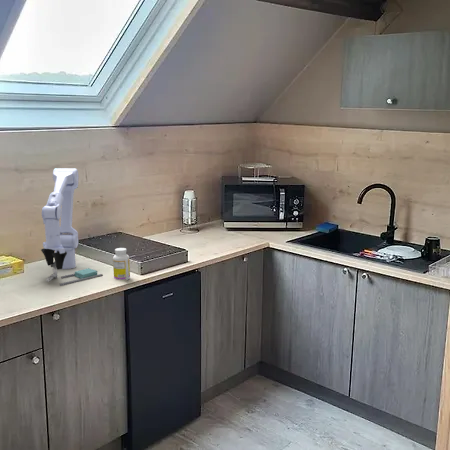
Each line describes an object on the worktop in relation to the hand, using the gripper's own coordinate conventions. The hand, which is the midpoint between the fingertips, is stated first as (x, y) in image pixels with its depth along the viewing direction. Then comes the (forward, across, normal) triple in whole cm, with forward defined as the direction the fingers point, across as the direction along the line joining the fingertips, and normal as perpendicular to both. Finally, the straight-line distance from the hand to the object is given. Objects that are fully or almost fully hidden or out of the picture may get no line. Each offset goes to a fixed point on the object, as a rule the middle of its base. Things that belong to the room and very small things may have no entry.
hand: (54, 267), depth 235 cm
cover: (+6, +6, +11) cm, 14 cm away
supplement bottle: (+6, +18, +21) cm, 28 cm away
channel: (+6, +6, +6) cm, 10 cm away
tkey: (+5, +2, -2) cm, 5 cm away
